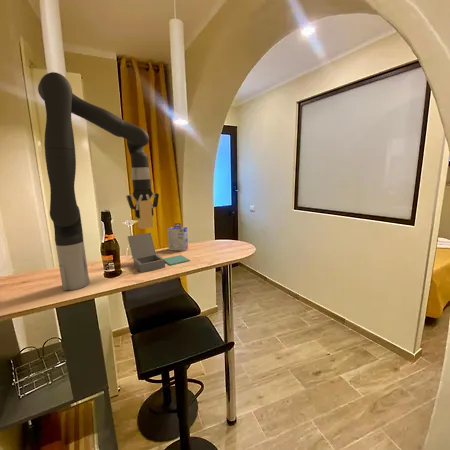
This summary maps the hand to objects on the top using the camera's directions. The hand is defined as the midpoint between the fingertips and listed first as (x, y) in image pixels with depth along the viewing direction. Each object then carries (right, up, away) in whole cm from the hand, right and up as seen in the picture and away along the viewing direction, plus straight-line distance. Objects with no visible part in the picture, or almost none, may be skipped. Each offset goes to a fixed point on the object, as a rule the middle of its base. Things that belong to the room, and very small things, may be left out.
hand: (144, 217), depth 120 cm
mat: (+12, -21, +11) cm, 26 cm away
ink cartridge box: (+10, -17, +30) cm, 36 cm away
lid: (-4, -13, +10) cm, 17 cm away
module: (0, -4, +1) cm, 4 cm away
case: (+1, -22, +4) cm, 23 cm away
